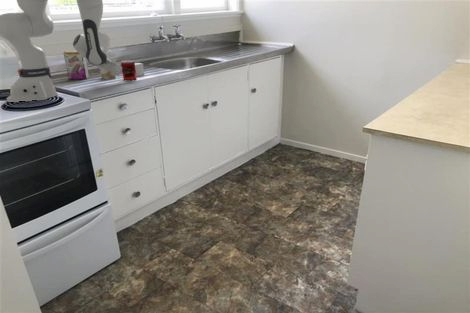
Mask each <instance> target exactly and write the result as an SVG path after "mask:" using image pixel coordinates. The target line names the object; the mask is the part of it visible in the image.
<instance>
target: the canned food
mask: <svg viewBox="0 0 470 313" xmlns="http://www.w3.org/2000/svg"><path fill="white" fill-rule="evenodd" d="M135 63H136V62H135V60H134V59H133V60H132V59H127V60H126V59H125V60H121V61H120V66H121V67H122V71H121V72H122V79H123V81H124V80H134V81H137V76H136V70H135Z"/></svg>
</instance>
